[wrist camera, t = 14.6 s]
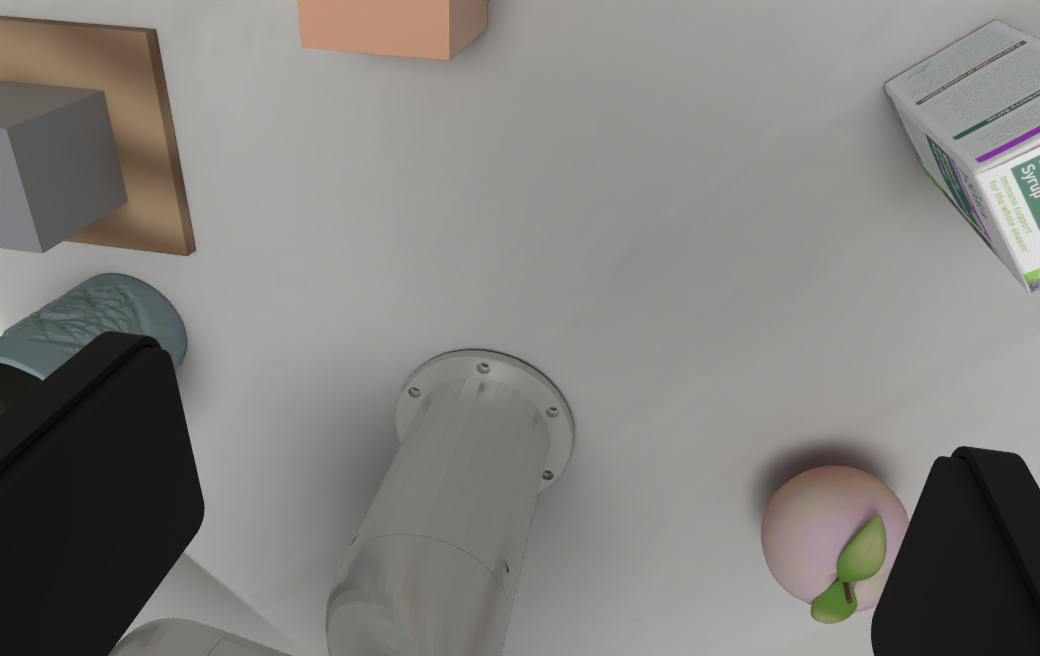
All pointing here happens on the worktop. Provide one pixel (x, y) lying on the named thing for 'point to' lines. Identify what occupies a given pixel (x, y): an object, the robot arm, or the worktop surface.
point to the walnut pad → (114, 120)
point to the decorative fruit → (833, 539)
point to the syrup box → (982, 137)
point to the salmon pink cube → (392, 26)
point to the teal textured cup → (84, 329)
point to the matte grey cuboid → (54, 164)
